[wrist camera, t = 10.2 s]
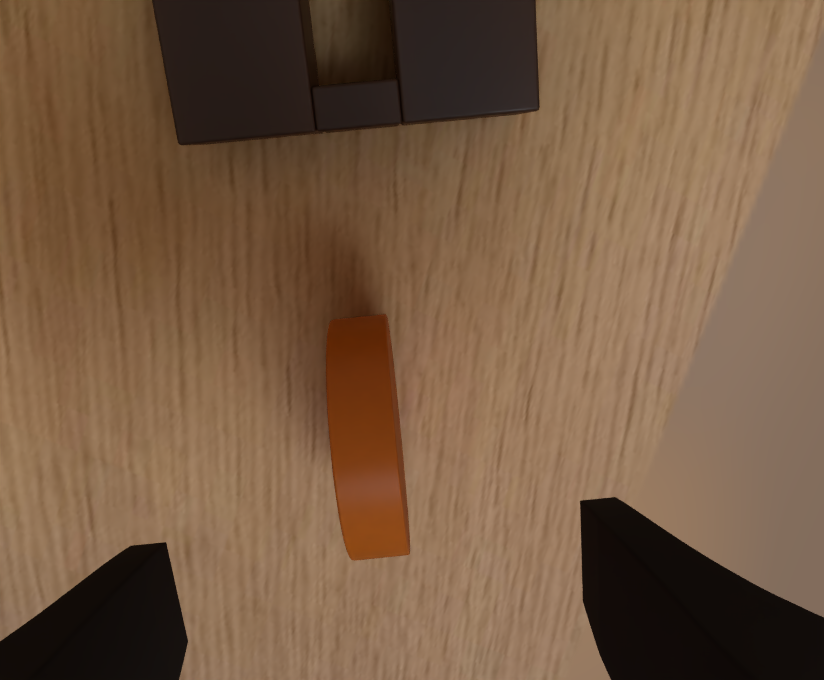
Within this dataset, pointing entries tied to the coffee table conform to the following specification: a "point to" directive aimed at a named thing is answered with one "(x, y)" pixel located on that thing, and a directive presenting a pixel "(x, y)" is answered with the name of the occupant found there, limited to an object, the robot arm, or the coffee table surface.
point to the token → (366, 438)
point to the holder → (349, 102)
